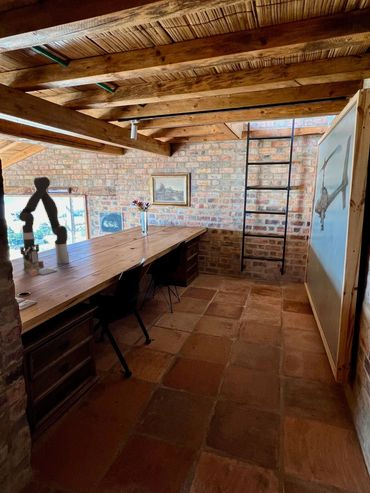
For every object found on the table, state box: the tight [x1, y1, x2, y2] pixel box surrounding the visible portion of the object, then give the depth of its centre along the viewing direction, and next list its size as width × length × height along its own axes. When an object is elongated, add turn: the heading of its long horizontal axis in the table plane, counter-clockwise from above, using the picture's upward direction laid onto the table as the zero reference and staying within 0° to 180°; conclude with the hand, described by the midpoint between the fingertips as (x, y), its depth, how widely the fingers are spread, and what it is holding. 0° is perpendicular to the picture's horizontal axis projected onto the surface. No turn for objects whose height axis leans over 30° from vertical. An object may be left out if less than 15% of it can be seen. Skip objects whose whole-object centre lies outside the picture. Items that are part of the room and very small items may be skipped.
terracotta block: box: [28, 269, 39, 277], centre depth 212 cm, size 4×4×4 cm
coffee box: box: [22, 250, 40, 272], centre depth 223 cm, size 9×6×16 cm
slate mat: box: [37, 268, 58, 276], centre depth 219 cm, size 12×12×1 cm
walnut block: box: [38, 259, 44, 269], centre depth 234 cm, size 5×5×5 cm
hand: (30, 258), depth 222 cm, fingers closed on coffee box, 7 cm apart
